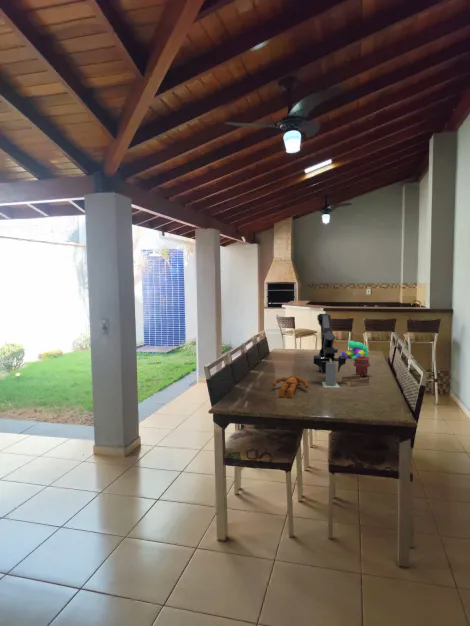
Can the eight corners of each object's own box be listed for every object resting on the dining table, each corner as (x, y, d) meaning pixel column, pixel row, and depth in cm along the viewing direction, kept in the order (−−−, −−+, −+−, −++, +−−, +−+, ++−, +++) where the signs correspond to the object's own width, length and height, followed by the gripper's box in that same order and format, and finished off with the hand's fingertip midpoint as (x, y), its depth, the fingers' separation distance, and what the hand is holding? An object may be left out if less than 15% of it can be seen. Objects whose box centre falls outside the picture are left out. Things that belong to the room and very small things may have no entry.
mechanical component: (368, 374, 267) (370, 378, 257) (352, 373, 269) (354, 377, 259) (369, 355, 266) (371, 358, 256) (353, 354, 268) (354, 358, 258)
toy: (304, 401, 216) (312, 384, 244) (304, 388, 215) (312, 373, 243) (267, 398, 222) (279, 382, 250) (267, 386, 221) (279, 371, 249)
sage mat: (321, 382, 248) (321, 381, 248) (336, 382, 247) (336, 381, 247) (323, 387, 237) (323, 387, 237) (339, 387, 236) (339, 387, 236)
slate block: (325, 383, 245) (325, 358, 243) (334, 383, 244) (334, 358, 243) (326, 385, 240) (326, 360, 238) (335, 385, 239) (335, 360, 238)
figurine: (346, 363, 309) (373, 359, 308) (344, 344, 308) (370, 340, 307) (340, 358, 327) (366, 354, 327) (338, 340, 326) (363, 336, 325)
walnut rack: (342, 383, 246) (342, 376, 246) (358, 381, 250) (359, 374, 250) (351, 386, 237) (351, 380, 237) (368, 384, 241) (369, 378, 241)
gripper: (313, 342, 246) (315, 364, 236) (345, 342, 244) (348, 364, 234) (312, 352, 254) (314, 374, 244) (343, 352, 252) (346, 375, 242)
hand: (330, 372), depth 241 cm, fingers open, 9 cm apart
